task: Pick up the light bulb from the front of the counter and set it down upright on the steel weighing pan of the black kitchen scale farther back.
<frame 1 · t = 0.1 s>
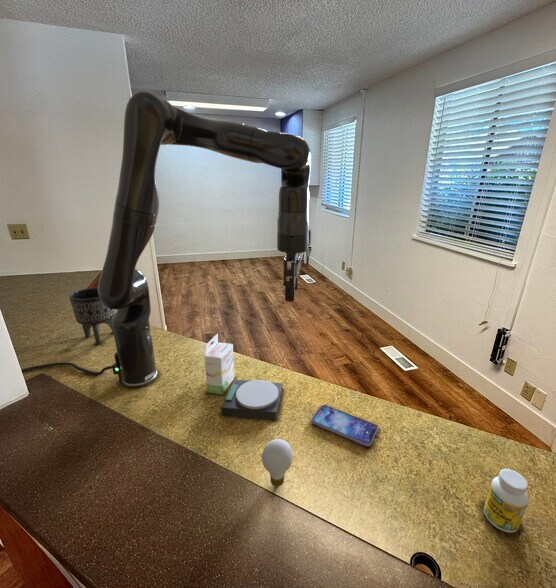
hand: (291, 294, 78), 29 cm above the table, tool pointing down, fingers open, 8 cm apart
smartphone: (344, 426, 75), on the table
kitchen scale: (253, 401, 82), on the table
planter: (100, 337, 114), on the table
light bulb: (277, 484, 60), on the table
supplement bottle: (499, 518, 55), on the table
ink box: (221, 385, 89), on the table
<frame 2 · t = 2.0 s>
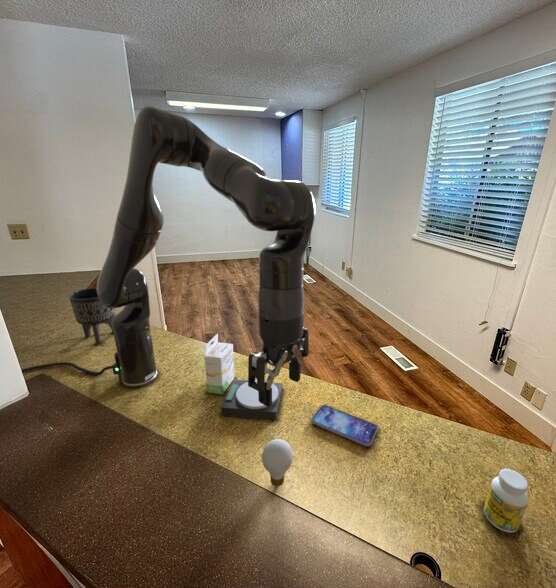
hand: (280, 391, 55), 20 cm above the table, tool pointing down, fingers open, 8 cm apart
nothing on the table moved.
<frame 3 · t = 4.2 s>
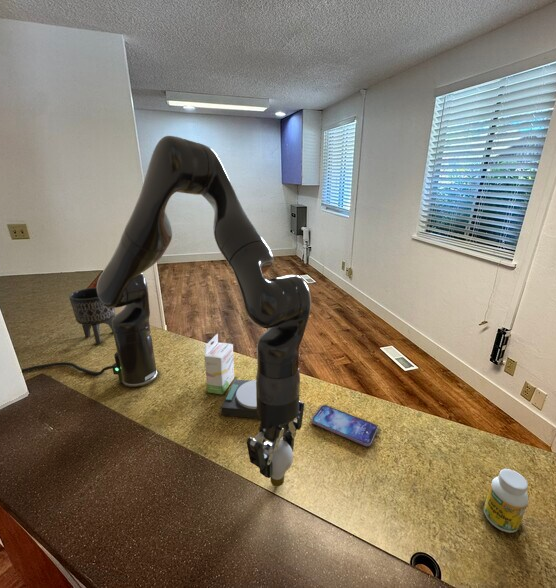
hand: (277, 462, 58), 6 cm above the table, tool pointing down, fingers closed on light bulb, 6 cm apart
light bulb: (277, 484, 60), on the table, touching gripper
everything else where it was.
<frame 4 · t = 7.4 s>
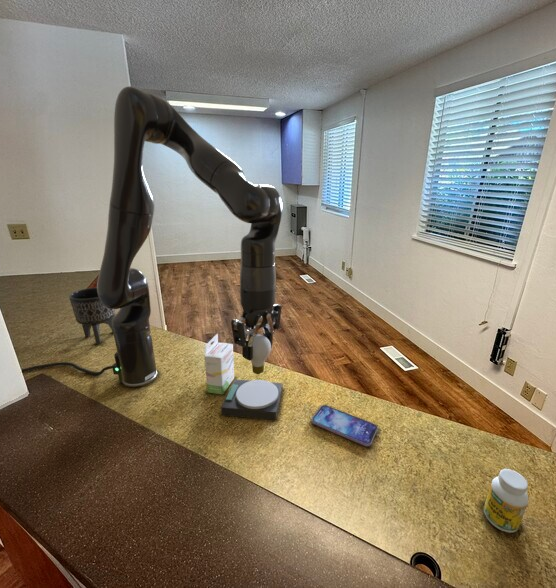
hand: (258, 352, 70), 19 cm above the table, tool pointing down, fingers closed on light bulb, 6 cm apart
light bulb: (258, 374, 72), point 13 cm above the table, touching gripper
everything else where it was.
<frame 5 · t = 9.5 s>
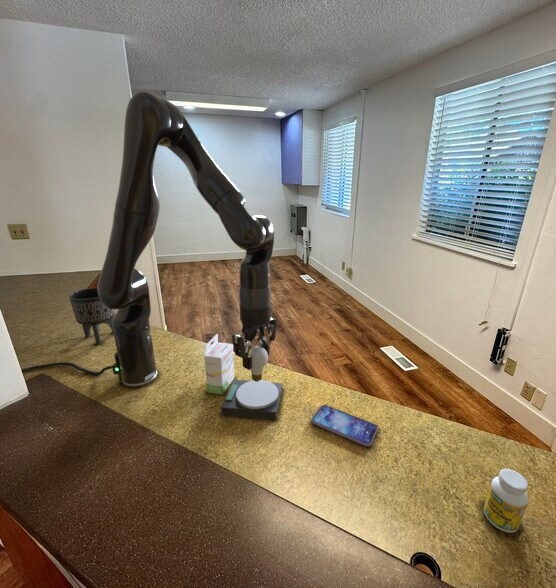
hand: (256, 362, 78), 12 cm above the table, tool pointing down, fingers closed on light bulb, 6 cm apart
light bulb: (257, 381, 80), point 7 cm above the table, touching gripper
everything else where it was.
when the fingers open (9 cm above the table, at t = 11.0 s): light bulb stays where it is, resting on kitchen scale.
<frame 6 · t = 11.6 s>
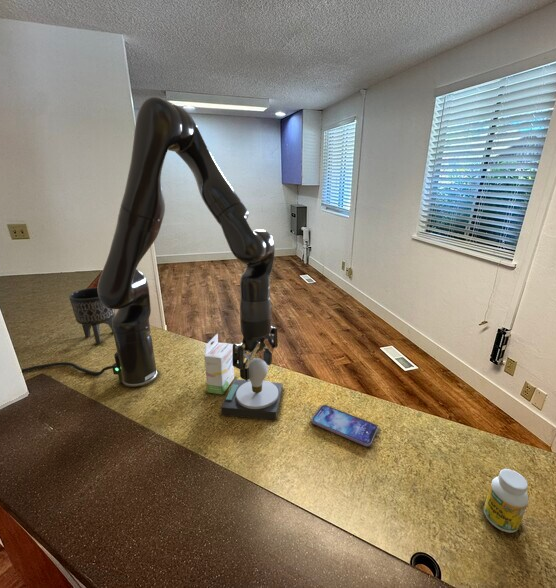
hand: (256, 371, 79), 10 cm above the table, tool pointing down, fingers open, 8 cm apart
light bulb: (257, 392, 81), point 3 cm above the table, touching kitchen scale
everything else where it was.
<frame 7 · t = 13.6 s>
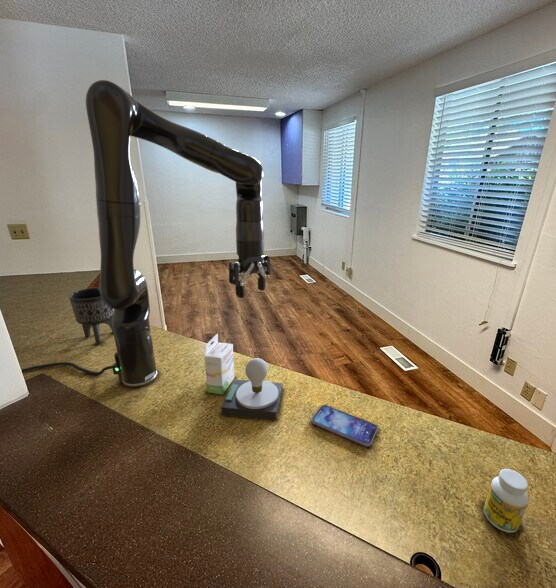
hand: (251, 293, 88), 26 cm above the table, tool pointing down, fingers open, 8 cm apart
nothing on the table moved.
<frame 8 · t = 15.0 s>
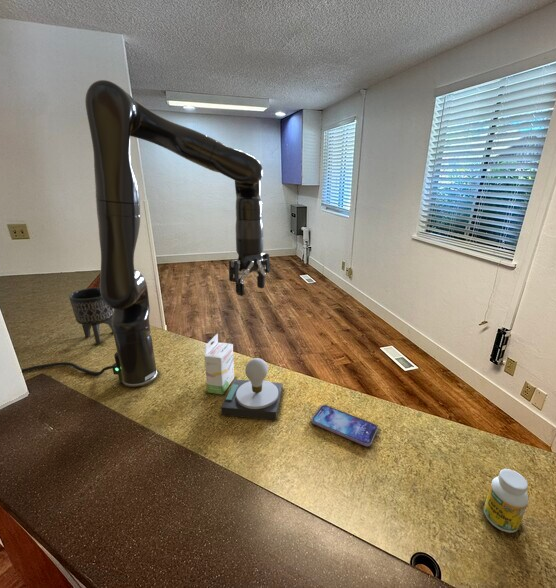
hand: (251, 291, 89), 26 cm above the table, tool pointing down, fingers open, 8 cm apart
nothing on the table moved.
at the end: light bulb inside the target area on the kitchen scale (0.0 cm from its centre), point 3.0 cm above the kitchen scale's base; light bulb tilted 0°; the gripper is holding nothing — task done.
